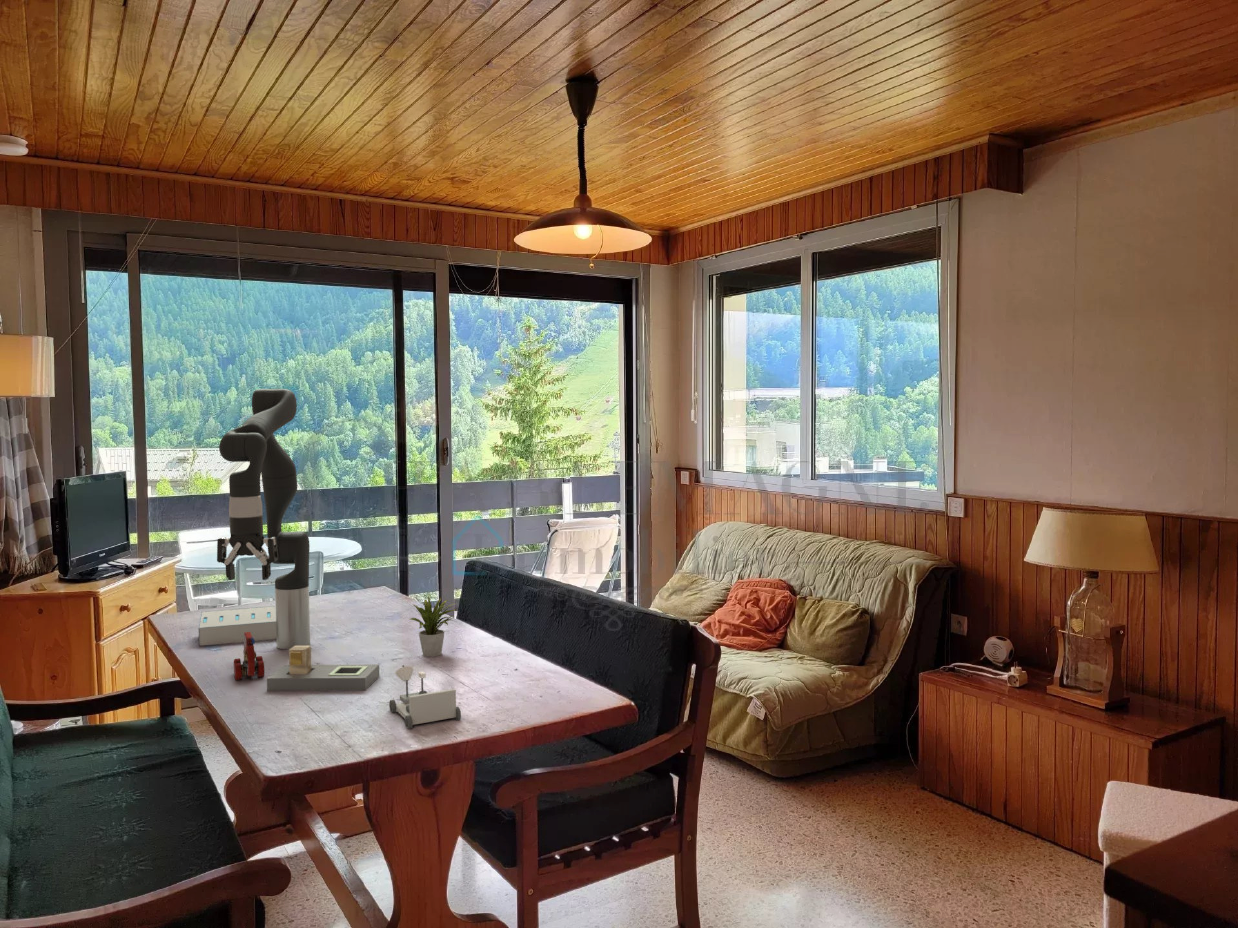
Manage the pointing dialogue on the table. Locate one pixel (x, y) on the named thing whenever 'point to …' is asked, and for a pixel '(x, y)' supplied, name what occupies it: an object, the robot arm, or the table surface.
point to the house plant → (432, 627)
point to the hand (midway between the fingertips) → (248, 579)
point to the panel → (325, 678)
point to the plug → (300, 660)
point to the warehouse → (237, 625)
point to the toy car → (424, 702)
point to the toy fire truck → (248, 660)
